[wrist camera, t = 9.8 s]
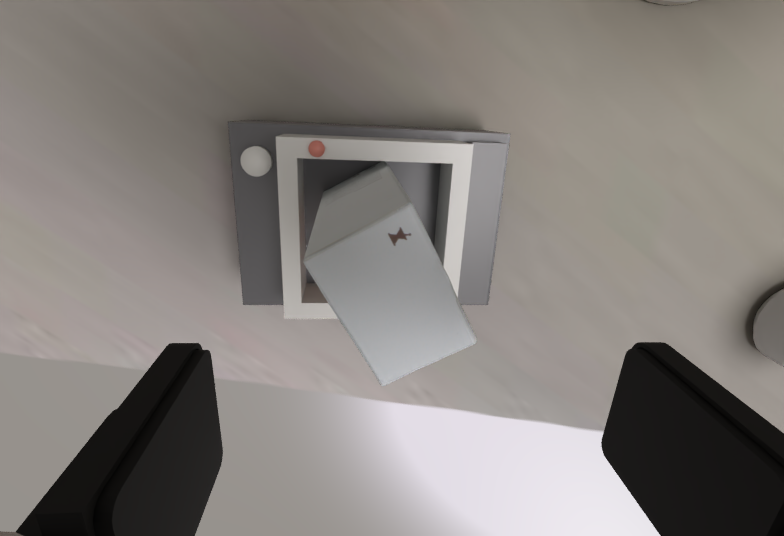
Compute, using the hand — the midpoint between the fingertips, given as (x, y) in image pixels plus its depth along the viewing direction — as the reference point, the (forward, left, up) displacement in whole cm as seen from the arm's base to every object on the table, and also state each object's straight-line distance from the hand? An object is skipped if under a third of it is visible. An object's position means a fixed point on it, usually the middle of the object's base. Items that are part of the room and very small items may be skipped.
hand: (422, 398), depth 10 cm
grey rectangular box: (0, 0, -22) cm, 22 cm away
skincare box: (0, 0, -18) cm, 18 cm away
